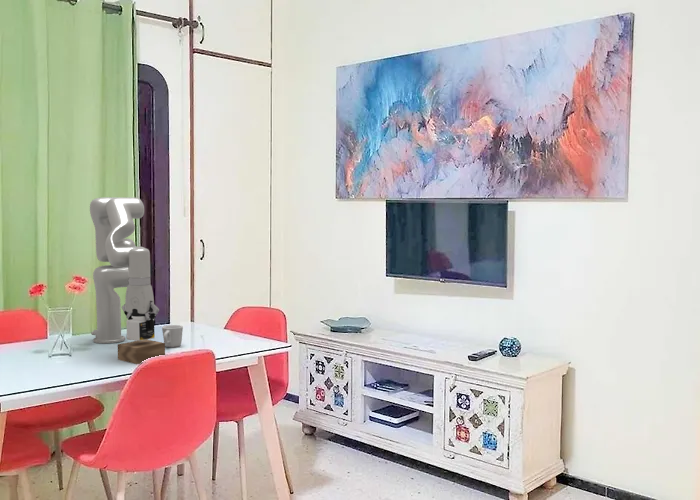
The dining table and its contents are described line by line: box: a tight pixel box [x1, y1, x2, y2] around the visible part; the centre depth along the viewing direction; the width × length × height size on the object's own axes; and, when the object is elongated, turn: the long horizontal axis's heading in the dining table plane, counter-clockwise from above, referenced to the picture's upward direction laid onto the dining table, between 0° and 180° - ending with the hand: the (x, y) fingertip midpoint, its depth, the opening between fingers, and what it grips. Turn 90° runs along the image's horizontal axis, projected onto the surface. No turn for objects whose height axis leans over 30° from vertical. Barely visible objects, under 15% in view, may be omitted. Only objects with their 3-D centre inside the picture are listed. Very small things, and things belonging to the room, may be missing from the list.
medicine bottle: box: [126, 309, 155, 341], centre depth 256 cm, size 7×7×12 cm
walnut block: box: [116, 339, 166, 365], centre depth 257 cm, size 12×12×6 cm
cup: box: [161, 324, 184, 348], centre depth 278 cm, size 11×8×8 cm
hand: (140, 329), depth 257 cm, fingers closed on medicine bottle, 7 cm apart
